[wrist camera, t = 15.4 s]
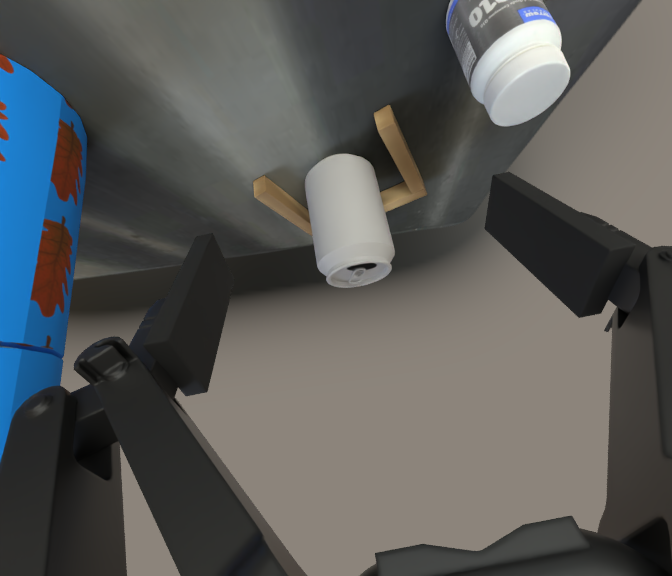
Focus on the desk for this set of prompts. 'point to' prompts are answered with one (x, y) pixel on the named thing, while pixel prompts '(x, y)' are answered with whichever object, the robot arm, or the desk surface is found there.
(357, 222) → the can
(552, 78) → the pill bottle
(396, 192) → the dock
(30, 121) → the thermos
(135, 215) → the desk surface
